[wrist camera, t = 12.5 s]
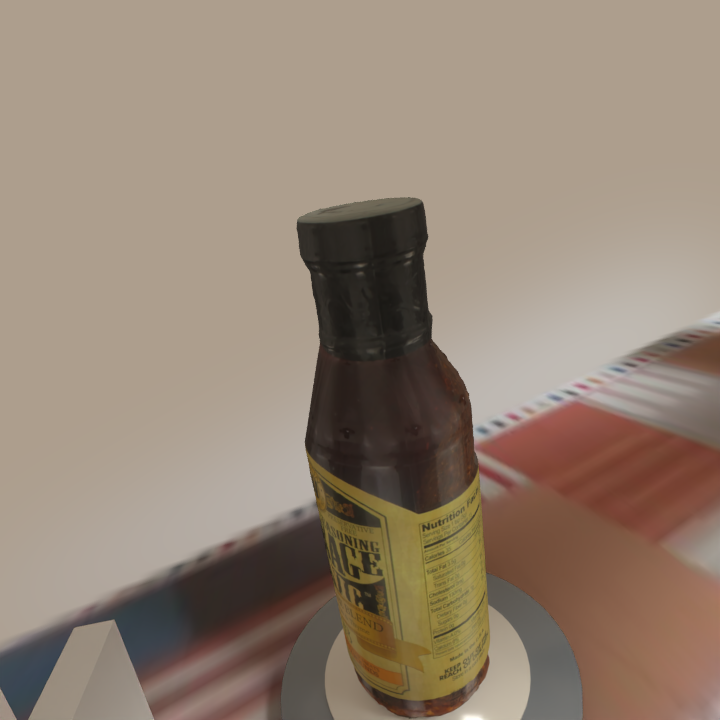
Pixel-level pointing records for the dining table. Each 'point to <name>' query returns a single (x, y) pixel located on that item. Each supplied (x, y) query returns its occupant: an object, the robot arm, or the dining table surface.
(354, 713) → the grey round coaster
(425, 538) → the sauce bottle
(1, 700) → the milk
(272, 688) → the dining table surface
